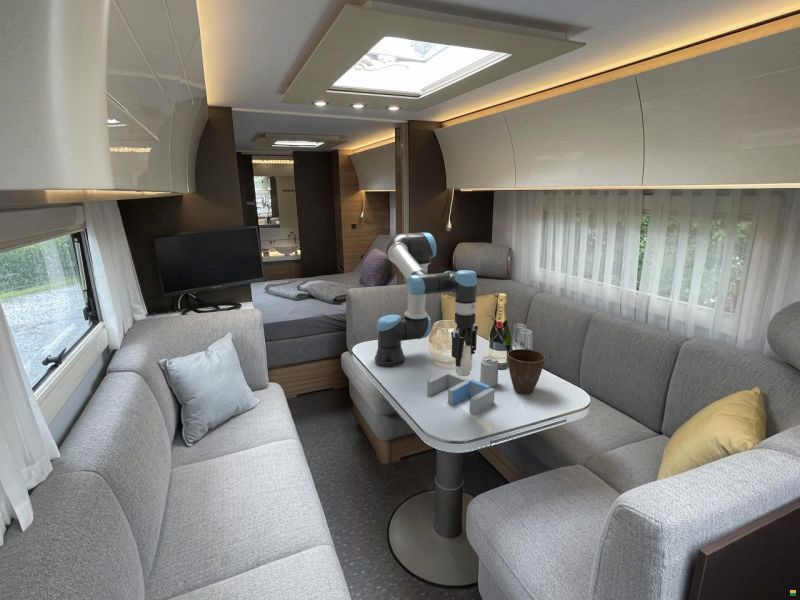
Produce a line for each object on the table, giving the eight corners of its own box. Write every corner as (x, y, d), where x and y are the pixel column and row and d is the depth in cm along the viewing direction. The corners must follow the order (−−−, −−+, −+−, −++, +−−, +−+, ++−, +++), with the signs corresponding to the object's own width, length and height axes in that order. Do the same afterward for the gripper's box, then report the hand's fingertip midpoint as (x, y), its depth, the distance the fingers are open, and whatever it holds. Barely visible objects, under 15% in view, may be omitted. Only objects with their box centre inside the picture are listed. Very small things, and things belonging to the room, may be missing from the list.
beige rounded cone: (454, 373, 152) (455, 346, 149) (462, 370, 155) (463, 343, 152) (464, 377, 148) (465, 349, 146) (472, 373, 151) (473, 346, 149)
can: (477, 385, 173) (478, 360, 170) (482, 379, 180) (483, 354, 177) (494, 389, 170) (496, 363, 167) (499, 382, 176) (500, 357, 173)
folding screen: (427, 394, 166) (427, 379, 164) (447, 384, 175) (447, 370, 173) (474, 414, 149) (475, 398, 148) (494, 402, 158) (494, 387, 157)
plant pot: (514, 379, 178) (516, 346, 175) (547, 389, 169) (550, 353, 165) (499, 391, 167) (501, 356, 164) (534, 402, 158) (536, 365, 154)
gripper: (458, 319, 137) (457, 381, 143) (487, 309, 149) (485, 367, 155) (441, 315, 143) (441, 375, 148) (471, 306, 155) (469, 362, 160)
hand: (463, 371), depth 151 cm, fingers closed on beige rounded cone, 5 cm apart
